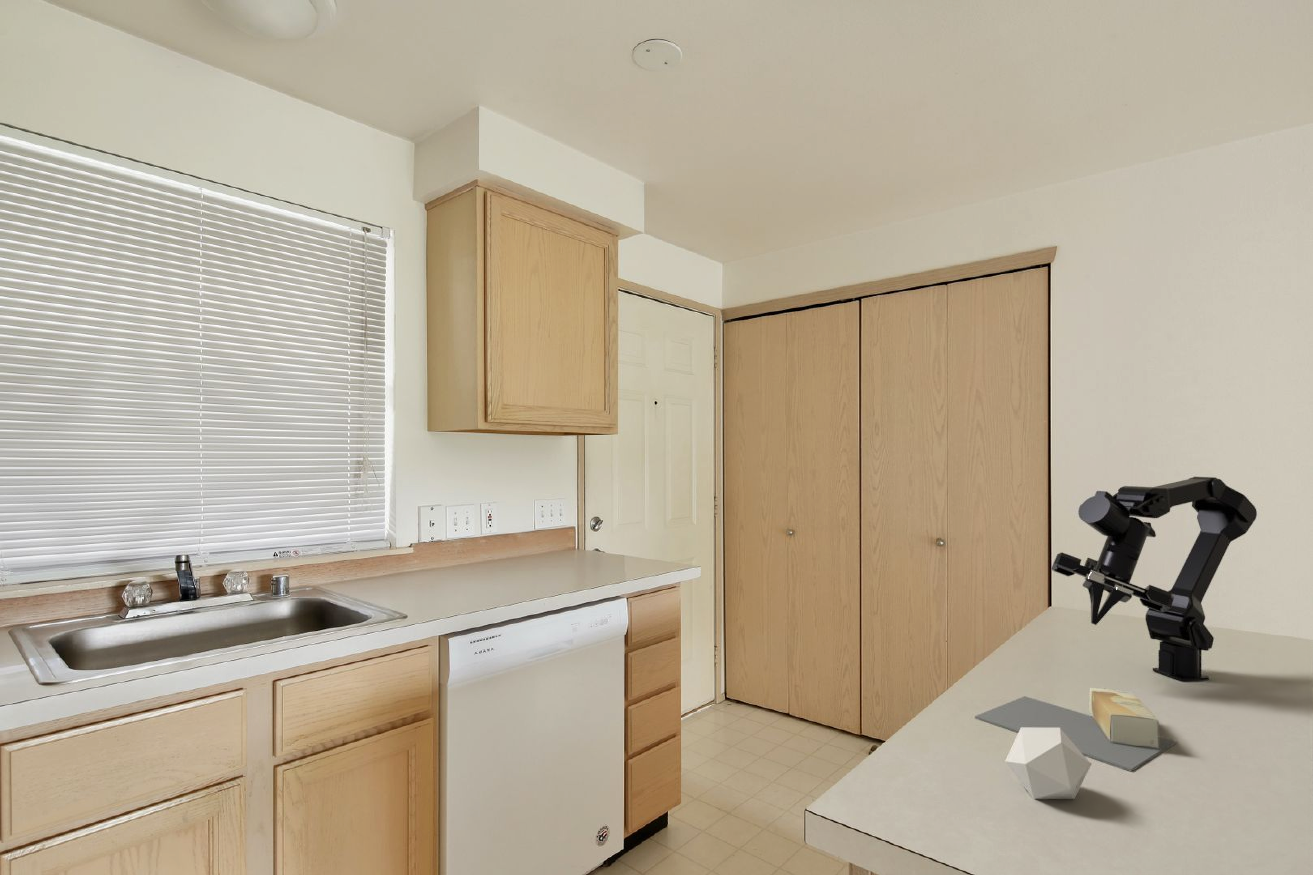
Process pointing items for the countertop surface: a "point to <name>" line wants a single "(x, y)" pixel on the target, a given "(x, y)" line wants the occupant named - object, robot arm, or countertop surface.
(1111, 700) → the skincare box
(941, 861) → the countertop surface
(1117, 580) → the robot arm
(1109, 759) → the mat
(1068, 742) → the die
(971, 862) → the countertop surface
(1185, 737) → the countertop surface
